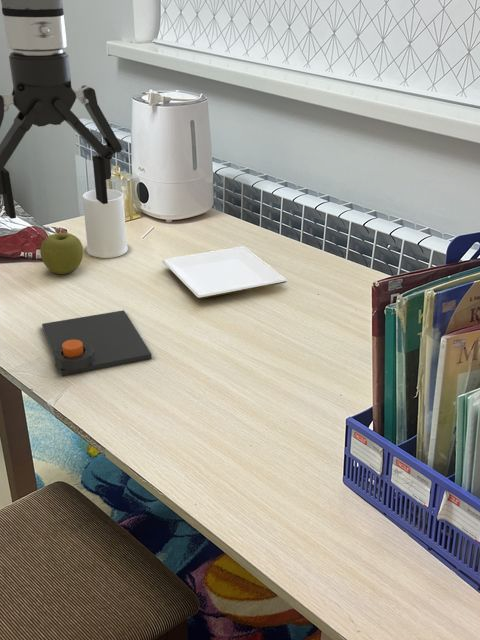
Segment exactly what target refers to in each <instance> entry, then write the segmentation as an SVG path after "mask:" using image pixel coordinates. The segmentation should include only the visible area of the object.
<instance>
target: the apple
mask: <svg viewBox="0 0 480 640" xmlns="http://www.w3.org/2000/svg"><path fill="white" fill-rule="evenodd" d="M39 252H40V257H41V261H42V263H43V264H44V266H45V267H46V268H47V269H48V270H49V271H50V272H52V273H53V274H56V275H66V274H69V273H72V272H74V271H76V269H78V267H80V265H81V263H82V261H83V258H84V247H83V244H82V241H81V240H80V239H79V238H78V236H76V235H74V234H72V233H69V232H57V233H52V234H50V235H48V236H47V237H46V238H44V240H43V241H42V242H41V245H40V251H39Z"/></svg>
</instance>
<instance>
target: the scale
mask: <svg viewBox="0 0 480 640" xmlns="http://www.w3.org/2000/svg"><path fill="white" fill-rule="evenodd" d="M41 327H42V331H43V333H44V336H45V338H46V342H47V343H48V346H49V348H50V351H51V354H52V361H53V363H54V365H55V367H56V368H58V371H59V373H60V376H61V377H65V376H70V375H75V374H79V373H85V372H90V371H94V370H95V371H96V370H100V369H106V368H112V367H115V366H120V365H125V364H126V365H127V364H131V363H136V362H141V361H146V360H152V352H151V351H150V350H149V347H148V346H147V344H146V343H145V341H144V340H143V338H142V337H141V335H140V333H139V332H138V330H137V328H136V327H135V326H134V323H133V322H132V321H131V318H129V316H128V314H127V312H126V311H125V310H124V309H123V310H117V311H110V312H105V313H99V314H92V315H87V316H80V317H75V318H69V319H63V320H56V321H50V322H44V323H41ZM68 340H80V341H81V342H82V343H83V354H82V355H80V356H77V357H65V356H64V355H63V348H62V344H63V343H64V342H65V341H68Z"/></svg>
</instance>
